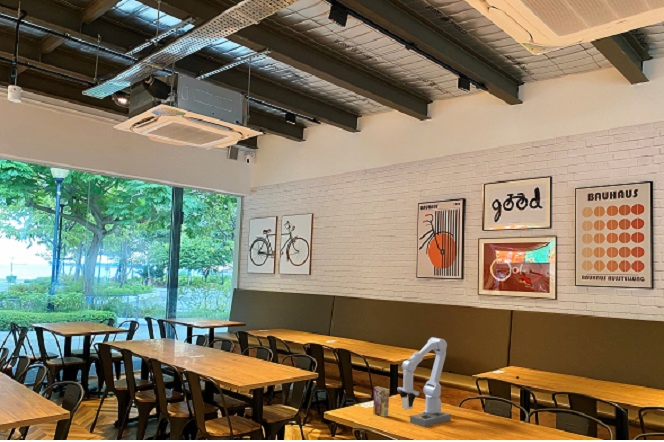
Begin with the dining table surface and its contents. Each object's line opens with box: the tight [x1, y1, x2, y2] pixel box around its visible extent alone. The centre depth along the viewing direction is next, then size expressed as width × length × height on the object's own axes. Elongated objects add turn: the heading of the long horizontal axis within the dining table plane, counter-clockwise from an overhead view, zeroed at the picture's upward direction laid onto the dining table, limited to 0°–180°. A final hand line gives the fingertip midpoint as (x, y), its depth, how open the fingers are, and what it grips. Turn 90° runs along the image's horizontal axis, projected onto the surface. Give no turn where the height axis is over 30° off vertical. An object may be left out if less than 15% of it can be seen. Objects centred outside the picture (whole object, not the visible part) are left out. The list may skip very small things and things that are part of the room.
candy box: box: [372, 386, 390, 418], centre depth 300 cm, size 9×4×15 cm, turn 39°
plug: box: [401, 395, 414, 411], centre depth 302 cm, size 5×4×7 cm
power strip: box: [409, 410, 452, 428], centre depth 290 cm, size 24×10×4 cm, turn 132°
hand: (407, 405), depth 302 cm, fingers closed on plug, 4 cm apart
